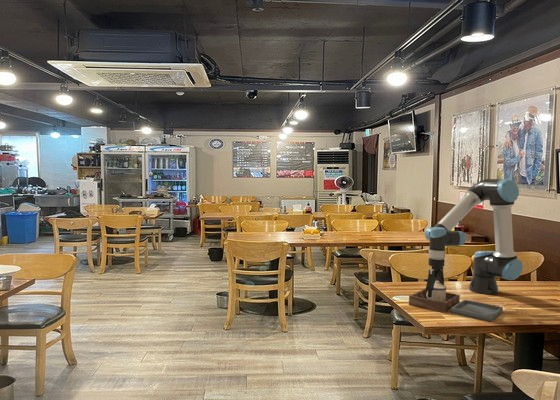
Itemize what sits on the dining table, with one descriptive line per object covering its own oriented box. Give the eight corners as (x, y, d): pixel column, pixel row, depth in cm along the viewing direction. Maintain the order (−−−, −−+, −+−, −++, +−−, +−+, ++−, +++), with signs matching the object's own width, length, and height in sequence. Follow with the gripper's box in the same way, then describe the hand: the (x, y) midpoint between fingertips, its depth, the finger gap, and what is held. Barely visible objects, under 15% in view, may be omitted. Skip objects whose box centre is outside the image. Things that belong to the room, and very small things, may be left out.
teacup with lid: (434, 300, 224) (435, 278, 223) (449, 304, 216) (450, 282, 215) (419, 303, 217) (420, 280, 217) (434, 308, 210) (435, 284, 209)
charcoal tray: (463, 304, 218) (464, 299, 218) (502, 312, 207) (502, 307, 206) (450, 313, 203) (450, 307, 203) (491, 322, 191) (491, 316, 191)
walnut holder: (424, 296, 231) (425, 288, 230) (459, 303, 219) (459, 294, 219) (408, 304, 215) (409, 295, 214) (445, 312, 203) (445, 303, 203)
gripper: (437, 254, 227) (435, 294, 228) (420, 260, 209) (417, 304, 210) (452, 256, 222) (450, 297, 223) (435, 262, 204) (433, 307, 205)
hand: (434, 300), depth 217 cm, fingers closed on teacup with lid, 11 cm apart
